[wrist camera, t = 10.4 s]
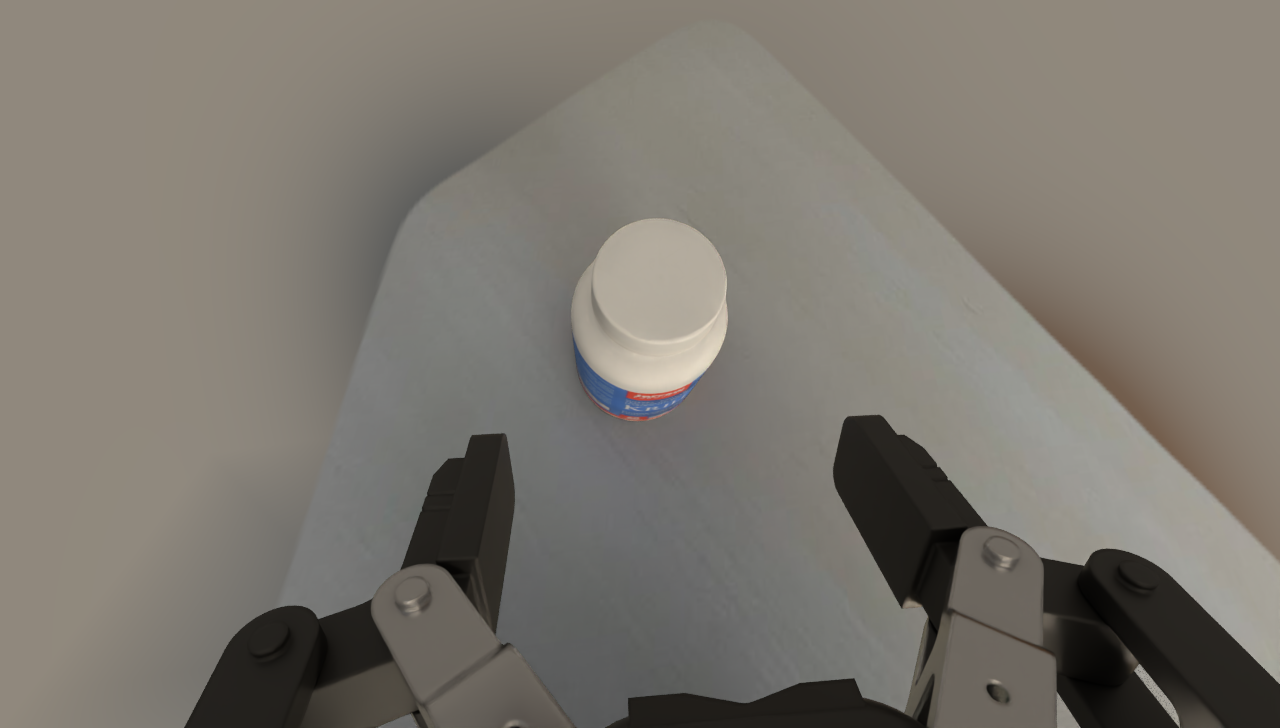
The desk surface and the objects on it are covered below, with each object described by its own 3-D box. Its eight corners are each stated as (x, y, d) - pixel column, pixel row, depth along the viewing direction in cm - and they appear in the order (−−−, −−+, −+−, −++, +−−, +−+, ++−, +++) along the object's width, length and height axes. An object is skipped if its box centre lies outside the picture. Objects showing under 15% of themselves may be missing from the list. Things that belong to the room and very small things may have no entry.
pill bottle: (622, 447, 25) (634, 409, 15) (554, 351, 25) (524, 258, 16) (720, 377, 26) (786, 301, 16) (651, 287, 27) (676, 165, 17)
